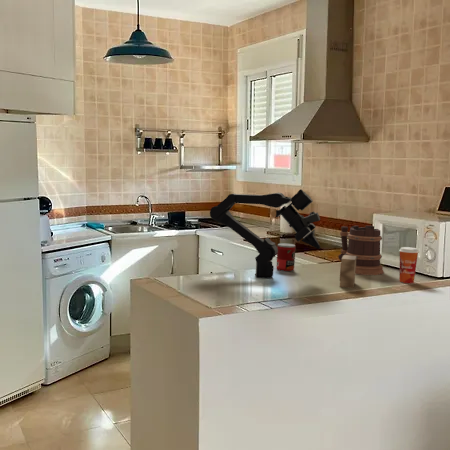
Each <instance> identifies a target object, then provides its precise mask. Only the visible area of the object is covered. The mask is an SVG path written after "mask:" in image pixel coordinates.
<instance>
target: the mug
mask: <svg viewBox="0 0 450 450" xmlns="http://www.w3.org/2000/svg"><path fill="white" fill-rule="evenodd" d="M340 228H341V231H340V232H339V235H340V239H341V246H342V247H341V248H342V249H340V254H339V255H338V256H337V257H338V260H340V261H341V259H342V257H343V255H350V256H357V257H356V271H355V275H363V276H365V275H366V276H367V275H368V276H375V275H376V276H377V275H382V274H384V273H385V272H384V269H383V268H384V267H383V265H382V264H381V259H382V257H383V255H382V254H381V241H382V240H383V237H382V235H381V230H380V229H378V228H375V226H374V225H365V227H364V226H363V227H362V226H361V227H359V225H352V226H351V227H348V226H342V225H341V227H340ZM349 228H350V230H349ZM348 230H349V231H348Z"/></svg>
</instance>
